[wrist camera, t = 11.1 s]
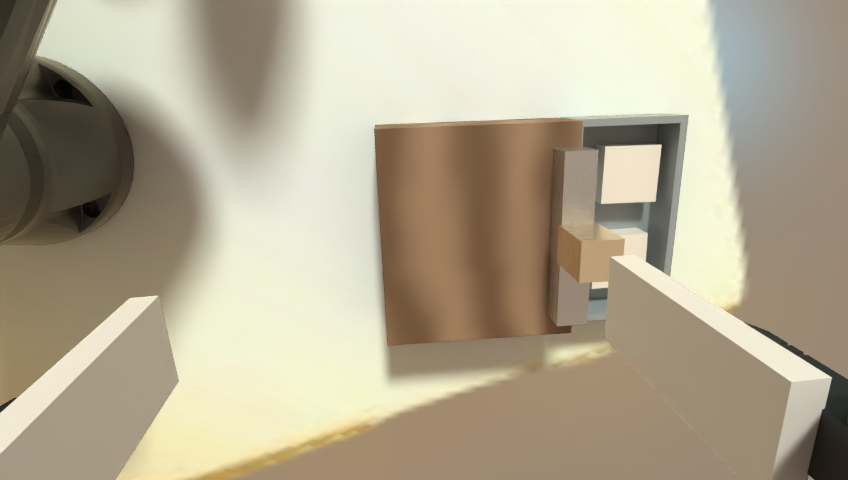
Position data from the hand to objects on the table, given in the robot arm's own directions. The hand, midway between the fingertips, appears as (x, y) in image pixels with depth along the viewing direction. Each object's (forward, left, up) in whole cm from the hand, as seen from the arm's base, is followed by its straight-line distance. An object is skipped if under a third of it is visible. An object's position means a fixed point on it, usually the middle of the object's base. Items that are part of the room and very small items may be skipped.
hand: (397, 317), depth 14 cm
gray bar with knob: (+14, -5, -24) cm, 29 cm away
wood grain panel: (+7, -5, -30) cm, 31 cm away
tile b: (+21, -1, -28) cm, 35 cm away
